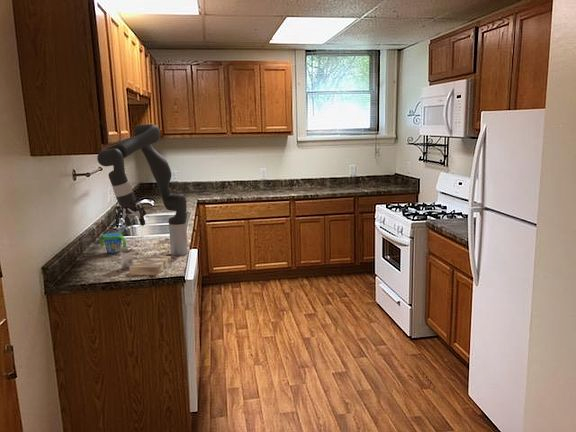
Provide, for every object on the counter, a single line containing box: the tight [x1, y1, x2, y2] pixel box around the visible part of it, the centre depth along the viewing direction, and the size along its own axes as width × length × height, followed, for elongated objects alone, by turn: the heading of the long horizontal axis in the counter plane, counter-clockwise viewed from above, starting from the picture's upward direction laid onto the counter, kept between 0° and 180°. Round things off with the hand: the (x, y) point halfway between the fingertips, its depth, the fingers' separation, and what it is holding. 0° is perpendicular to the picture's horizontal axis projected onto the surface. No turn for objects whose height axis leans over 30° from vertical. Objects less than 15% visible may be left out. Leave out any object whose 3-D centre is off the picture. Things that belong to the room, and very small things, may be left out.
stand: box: [129, 255, 172, 276], centre depth 226 cm, size 18×14×4 cm
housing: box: [119, 246, 134, 270], centre depth 229 cm, size 6×6×10 cm
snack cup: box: [100, 232, 127, 254], centre depth 260 cm, size 16×10×10 cm
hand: (136, 225), depth 210 cm, fingers open, 8 cm apart
